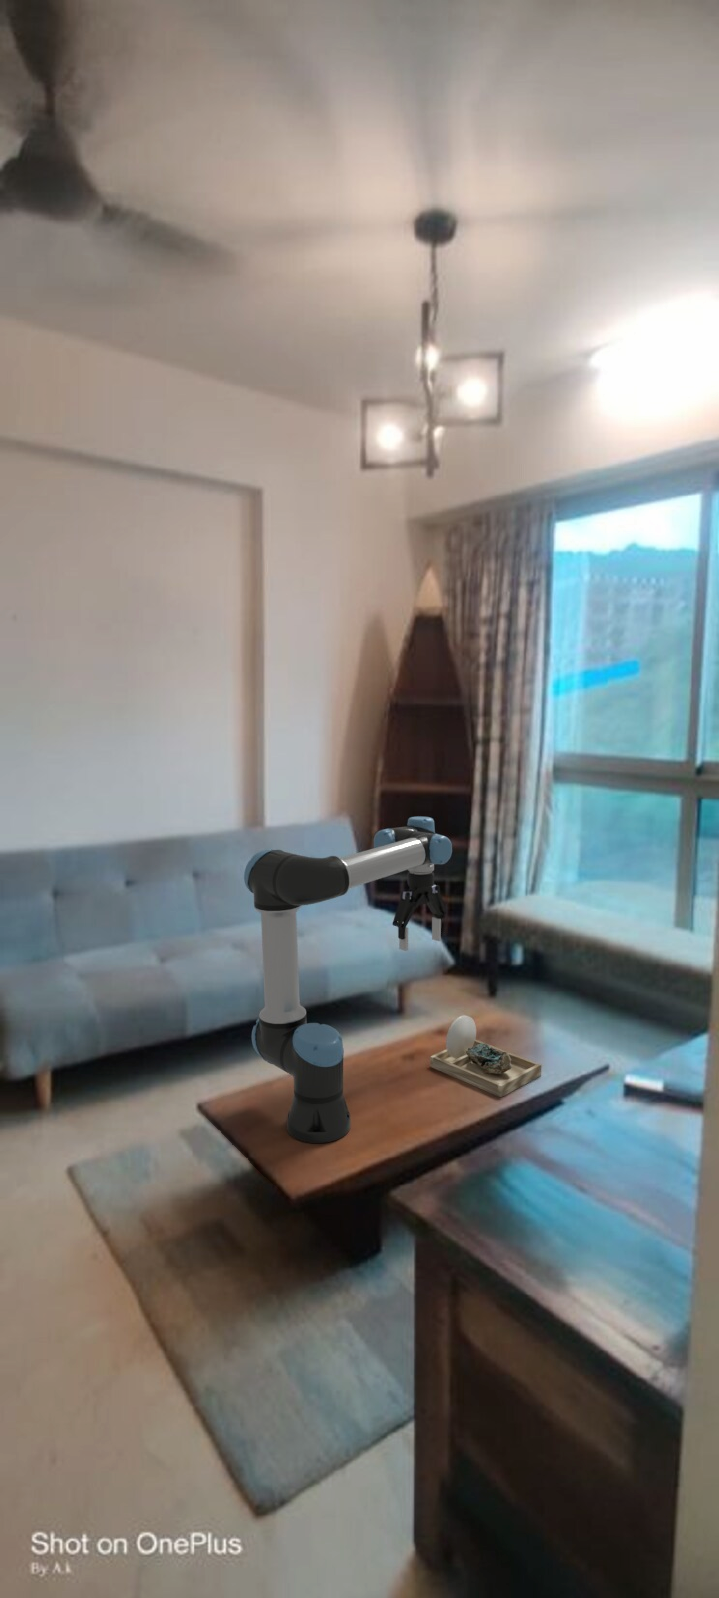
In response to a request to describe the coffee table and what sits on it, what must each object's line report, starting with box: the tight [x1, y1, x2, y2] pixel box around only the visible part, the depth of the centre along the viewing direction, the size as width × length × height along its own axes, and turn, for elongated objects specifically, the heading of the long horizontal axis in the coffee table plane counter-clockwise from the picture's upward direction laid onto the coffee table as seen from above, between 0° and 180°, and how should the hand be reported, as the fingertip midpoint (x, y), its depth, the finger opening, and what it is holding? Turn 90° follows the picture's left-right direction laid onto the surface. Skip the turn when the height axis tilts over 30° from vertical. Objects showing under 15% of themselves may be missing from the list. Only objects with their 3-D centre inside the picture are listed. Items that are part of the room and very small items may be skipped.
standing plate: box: [445, 1014, 477, 1059], centre depth 222 cm, size 12×1×12 cm, turn 133°
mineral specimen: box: [466, 1042, 512, 1074], centre depth 215 cm, size 12×9×8 cm
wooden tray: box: [429, 1038, 542, 1098], centre depth 216 cm, size 18×24×3 cm
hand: (420, 945), depth 225 cm, fingers open, 13 cm apart
